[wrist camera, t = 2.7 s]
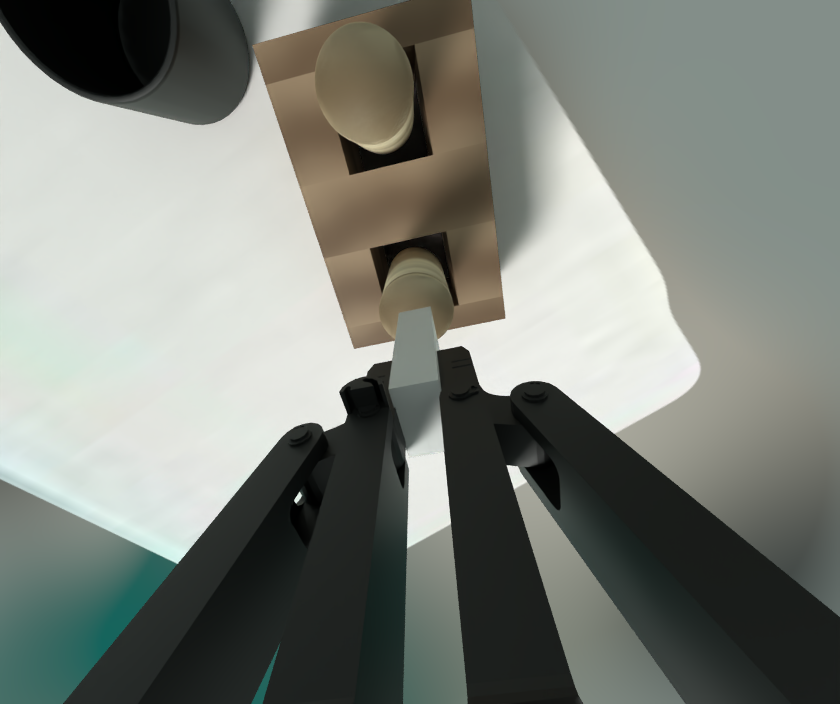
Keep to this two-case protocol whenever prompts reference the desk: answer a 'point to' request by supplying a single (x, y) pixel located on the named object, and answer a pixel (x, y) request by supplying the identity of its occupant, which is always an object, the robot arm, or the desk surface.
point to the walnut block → (396, 166)
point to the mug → (138, 52)
